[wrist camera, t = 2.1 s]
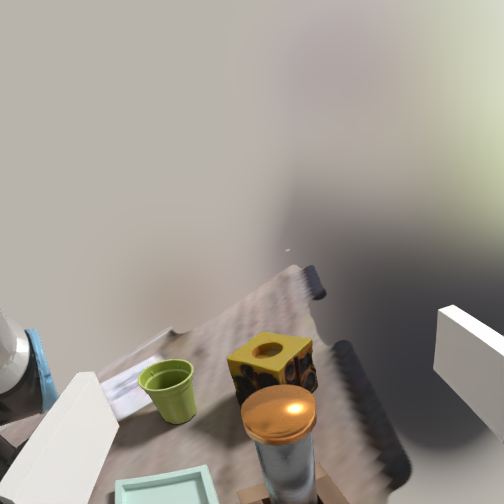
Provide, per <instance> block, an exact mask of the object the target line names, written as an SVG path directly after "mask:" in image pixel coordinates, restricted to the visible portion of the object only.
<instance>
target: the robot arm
mask: <svg viewBox="0 0 504 504" xmlns="http://www.w3.org/2000/svg"><path fill="white" fill-rule="evenodd" d="M433 369H434V370H435V371H436V372H437V373H438V374H439V375H440V376H441V377H442V378H443V379H444V381H445V382H446V383H447V384H448V385H449V386H451V388H452V389H453V390H454V391H455V392H456V393H457V394H458V395H459V396H460V397H461V398H462V399H463V400H464V401H465V402H466V403H467V404H468V405H469V406H470V407H471V409H472V410H473V411H474V412H475V413H476V414H477V415H478V416H479V417H480V418H481V419H482V420H483V421H484V422H485V423H486V425H487V426H488V427H489V428H490V429H491V430H492V431H493V432H494V433H495V434H496V435H497V436H498V438H499V439H500V440H501V441H502V442H503V443H504V337H503V336H502V335H500V334H498V333H497V332H495V331H494V330H492V329H491V328H489V327H488V326H486V325H484V324H483V323H481V322H480V321H478V320H476V319H475V318H474V317H472V316H470V315H469V314H467V313H466V312H464V311H462V310H461V309H459V308H457V307H456V306H454V305H451V306H449V307H445V308H442V309H439V310H438V322H437V338H436V349H435V359H434V368H433ZM47 410H50V411H49V412H48V413H47V415H46V416H45V417H44V419H43V420H42V422H41V423H40V424H39V426H38V427H37V429H36V430H35V432H34V433H33V434H32V436H31V437H30V439H27V440H26V441H24V442H23V443H22V444H21V445H19V446H18V447H17V449H16V448H15V447H14V446H12V445H11V444H10V443H9V442H8V441H7V440H6V439H4V438H3V437H2V436H1V435H0V504H87V503H88V500H89V498H90V495H91V493H92V490H93V488H94V485H95V483H96V480H97V478H98V475H99V473H100V470H101V468H102V466H103V463H104V461H105V458H106V456H107V454H108V451H109V449H110V447H111V444H112V442H113V439H114V437H115V435H116V433H117V430H118V428H119V424H118V422H117V420H116V418H115V416H114V414H113V412H112V410H111V408H110V406H109V404H108V402H107V400H106V398H105V395H104V393H103V391H102V389H101V386H100V384H99V382H98V380H97V377H96V375H95V373H94V372H78V373H77V374H76V376H75V377H74V378H73V380H72V381H71V382H70V384H69V385H68V386H67V388H66V389H65V390H64V392H63V393H62V394H61V396H60V397H59V395H58V393H57V390H56V387H55V384H54V382H53V379H52V376H51V373H50V370H49V367H48V364H47V361H46V357H45V355H44V351H43V348H42V344H41V341H40V337H39V334H38V332H37V331H36V330H35V329H31V330H29V329H26V330H23V329H22V327H21V326H20V325H19V324H18V323H17V322H16V321H14V320H13V319H11V318H9V317H6V316H4V315H3V314H2V312H1V310H0V426H2V425H5V424H8V423H11V422H15V421H18V420H21V419H24V418H27V417H30V416H33V415H36V414H44V412H45V411H47Z"/></svg>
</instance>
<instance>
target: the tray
mask: <svg viewBox="0 0 504 504" xmlns="http://www.w3.org/2000/svg"><path fill="white" fill-rule="evenodd" d="M115 504H220V503H219V500H218V497H217V494H216V491H215V487H214V484H213V481H212V477H211V474H210V471H209V469H208V467H207V465H202V466H198V467H193V468H189V469H184V470H179V471H174V472H169V473H164V474H158V475H152V476H146V477H139V478H132V479H124V480H116V481H115Z"/></svg>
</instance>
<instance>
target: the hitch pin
mask: <svg viewBox="0 0 504 504" xmlns="http://www.w3.org/2000/svg"><path fill="white" fill-rule="evenodd" d="M241 416H242V420H243V423H244V427H245V430H246V433H247V434H248V435H249V437H250V438H252V439H253V440H254V442H255V446H256V449H257V453H258V457H259V461H260V465H261V468H262V472H263V476H264V479H265V483H266V487H267V490H268V494H269V498H270V501H271V504H318V503H317V488H316V475H315V462H314V450H313V438H312V429H313V428H314V426H315V424H316V420H317V415H316V403H315V399H314V396H313V395H312V394H311V393H310V392H309V391H308V390H306V389H304V388H302V387H299V386H295V385H274V386H270V387H266V388H263V389H261V390H258V391H257V392H255V393H253V394H252V395H250V396H249V397H248V398H247V399H246V400H245V401H244V403H243V405H242V408H241Z"/></svg>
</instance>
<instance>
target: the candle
mask: <svg viewBox="0 0 504 504" xmlns="http://www.w3.org/2000/svg"><path fill="white" fill-rule="evenodd" d="M312 343H313V342H312V339H311V338H302V337H294V336H286V335H280V334H274V333H268V332H261V333H259V334H258V335H257V336H256V337H254V338H253V339H252V340H250V341H249V342H248V343H246V344H245V345H244V346H243V347H241V348H240V349H238V350H237V351H236V352H234V353H233V354H231V355H230V356H229V357H227V362H228V366H229V370H230V373H231V376H232V379H233V382H234V385H235V388H236V396H237V398H238V403H239V404H240V405H243V403H244V401H245V400H246V399H247V398H248V397H249V396H250V395H252V394H253V393H255V392H257V391H258V390H261V389H263V388H266V387H270V386H274V385H295V386H299V387H302V388H304V389H306V390H308V391H309V392H310V393H312V392H313V391H314V390H315V389H316V388H317V387H318V383H317V379H316V378H317V377H316V369H315V367H314V364H313V361H312V352H313V350H312Z"/></svg>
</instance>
